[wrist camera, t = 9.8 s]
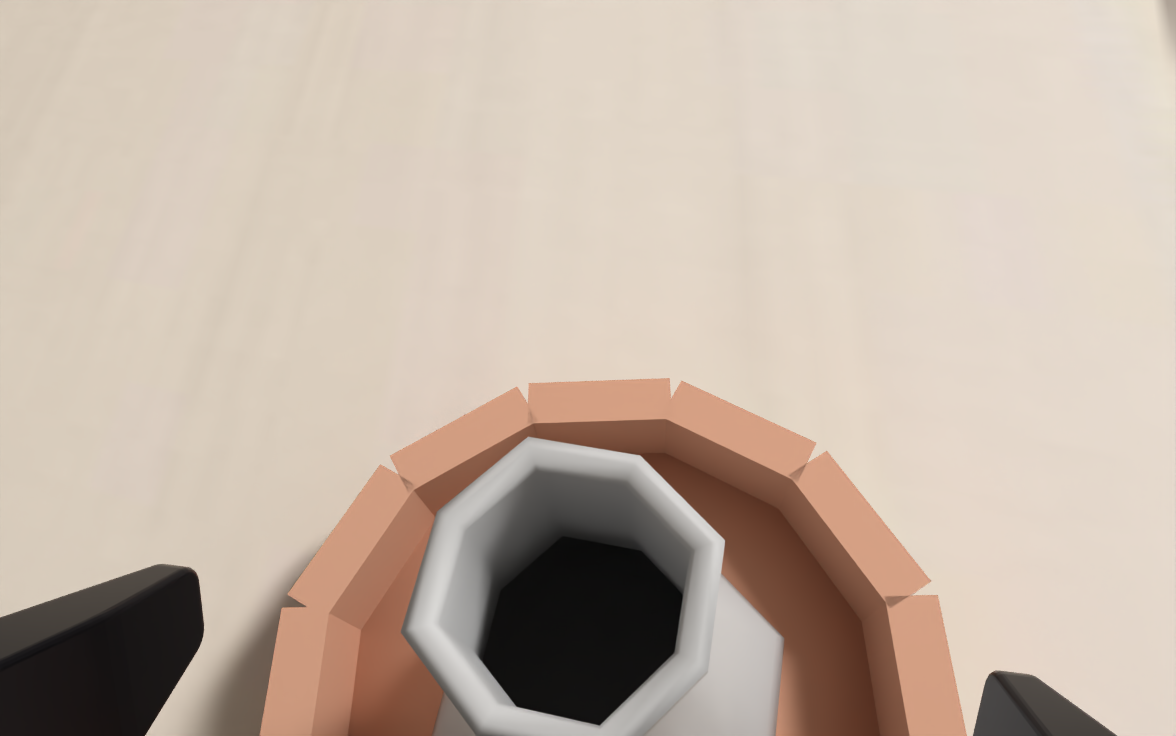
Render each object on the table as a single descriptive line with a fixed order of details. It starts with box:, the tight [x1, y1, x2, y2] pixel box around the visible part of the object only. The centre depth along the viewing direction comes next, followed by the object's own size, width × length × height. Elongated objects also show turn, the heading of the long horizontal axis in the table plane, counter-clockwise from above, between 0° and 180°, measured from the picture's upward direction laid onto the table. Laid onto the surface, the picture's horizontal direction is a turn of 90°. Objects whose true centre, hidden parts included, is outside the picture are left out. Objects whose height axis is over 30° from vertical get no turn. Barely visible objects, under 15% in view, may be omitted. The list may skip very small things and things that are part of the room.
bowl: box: [260, 378, 967, 736], centre depth 16 cm, size 13×13×3 cm
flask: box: [401, 437, 784, 736], centre depth 12 cm, size 7×7×10 cm
